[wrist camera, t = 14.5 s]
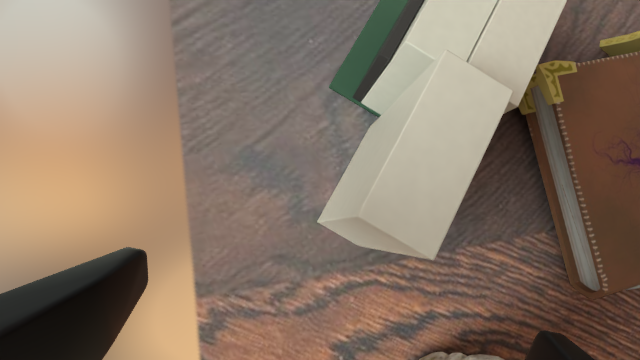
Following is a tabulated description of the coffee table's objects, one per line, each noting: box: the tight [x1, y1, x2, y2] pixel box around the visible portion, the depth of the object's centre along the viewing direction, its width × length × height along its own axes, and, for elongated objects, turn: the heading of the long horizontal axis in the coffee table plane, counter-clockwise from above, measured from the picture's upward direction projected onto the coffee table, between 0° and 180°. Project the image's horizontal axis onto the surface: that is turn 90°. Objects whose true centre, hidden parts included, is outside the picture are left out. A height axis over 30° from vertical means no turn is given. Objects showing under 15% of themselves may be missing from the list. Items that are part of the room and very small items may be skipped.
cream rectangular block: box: [317, 50, 513, 260], centre depth 17 cm, size 7×3×10 cm, turn 151°
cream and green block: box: [329, 0, 567, 117], centre depth 20 cm, size 8×10×8 cm
